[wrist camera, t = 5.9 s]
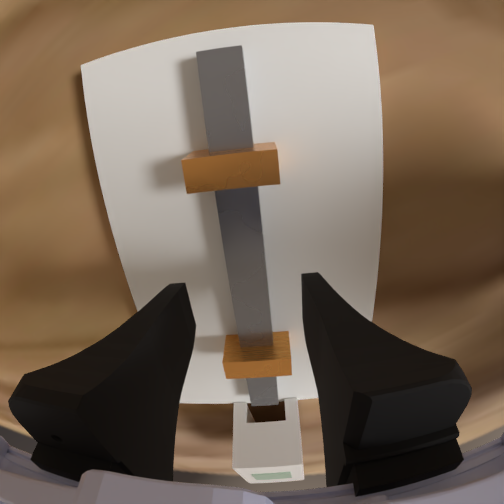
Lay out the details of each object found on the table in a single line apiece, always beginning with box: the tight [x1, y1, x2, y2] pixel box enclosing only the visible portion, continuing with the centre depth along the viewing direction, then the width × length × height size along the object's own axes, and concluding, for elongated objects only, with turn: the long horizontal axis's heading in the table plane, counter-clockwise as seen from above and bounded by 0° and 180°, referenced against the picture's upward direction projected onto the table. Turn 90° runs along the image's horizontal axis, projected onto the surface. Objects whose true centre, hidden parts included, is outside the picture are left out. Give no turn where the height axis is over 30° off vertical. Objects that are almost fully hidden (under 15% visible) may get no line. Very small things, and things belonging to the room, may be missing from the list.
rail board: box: [81, 22, 383, 404], centre depth 15 cm, size 12×20×1 cm, turn 6°
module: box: [232, 398, 304, 483], centre depth 18 cm, size 4×6×5 cm, turn 9°
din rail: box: [181, 45, 292, 406], centre depth 13 cm, size 3×18×2 cm, turn 6°
